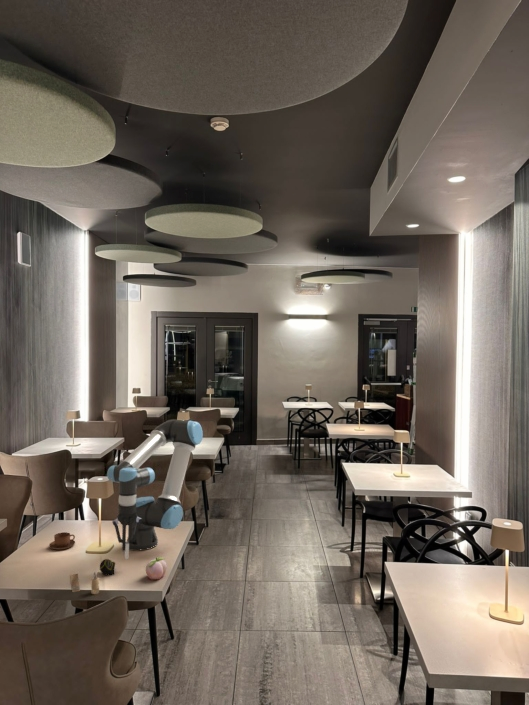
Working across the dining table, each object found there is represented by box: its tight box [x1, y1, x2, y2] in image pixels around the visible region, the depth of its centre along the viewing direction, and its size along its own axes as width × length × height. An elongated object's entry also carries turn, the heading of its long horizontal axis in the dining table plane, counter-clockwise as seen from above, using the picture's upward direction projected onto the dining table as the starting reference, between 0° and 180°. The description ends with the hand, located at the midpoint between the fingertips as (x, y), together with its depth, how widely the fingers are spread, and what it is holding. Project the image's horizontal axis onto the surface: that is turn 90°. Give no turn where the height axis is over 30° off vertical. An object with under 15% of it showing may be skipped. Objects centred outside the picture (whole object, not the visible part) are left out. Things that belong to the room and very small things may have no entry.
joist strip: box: [69, 573, 81, 593], centre depth 227 cm, size 3×18×1 cm, turn 22°
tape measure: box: [99, 558, 116, 576], centre depth 237 cm, size 7×7×4 cm
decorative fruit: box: [145, 557, 168, 580], centre depth 232 cm, size 9×8×10 cm
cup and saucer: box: [49, 531, 76, 551], centre depth 270 cm, size 12×12×6 cm
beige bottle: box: [90, 572, 100, 595], centre depth 218 cm, size 3×3×9 cm
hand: (126, 557), depth 240 cm, fingers closed
